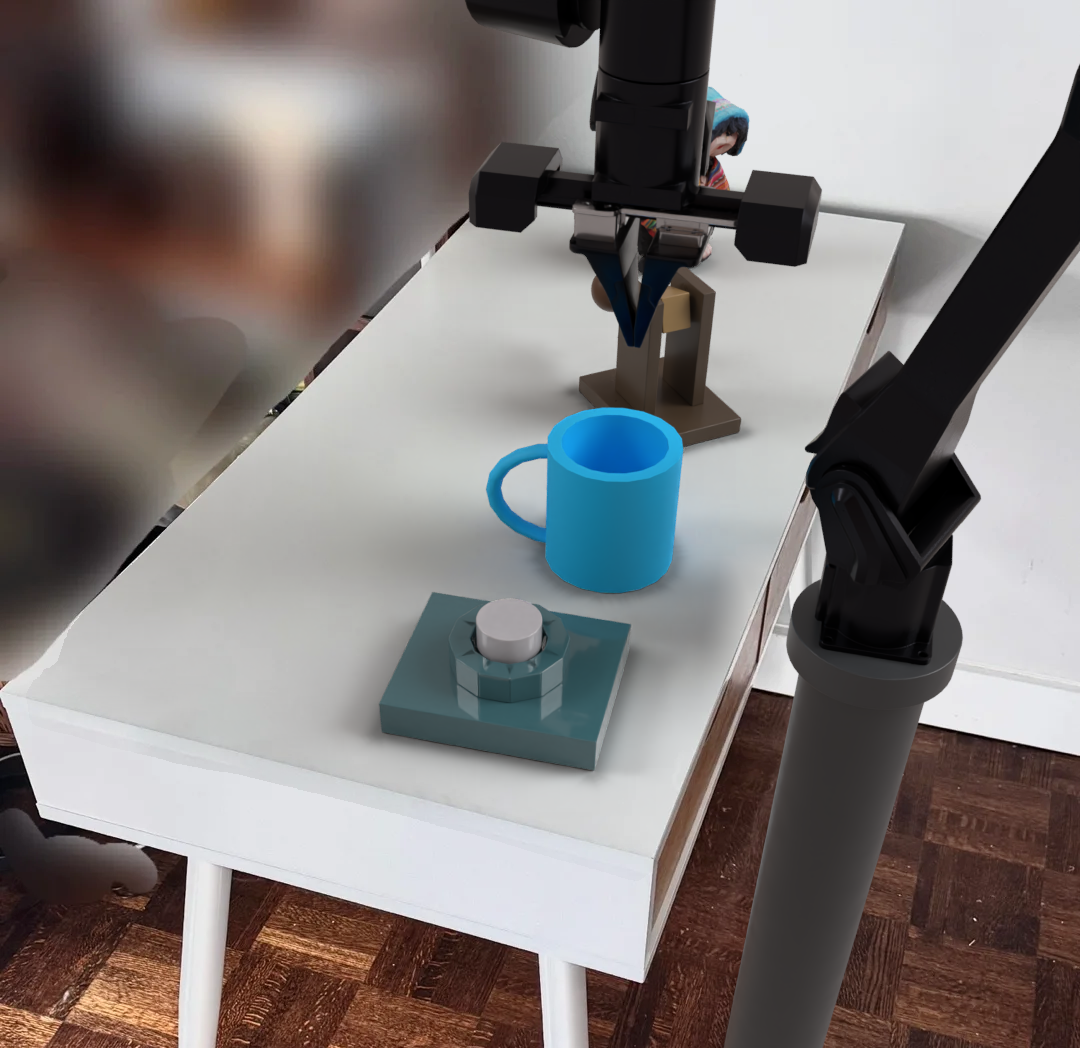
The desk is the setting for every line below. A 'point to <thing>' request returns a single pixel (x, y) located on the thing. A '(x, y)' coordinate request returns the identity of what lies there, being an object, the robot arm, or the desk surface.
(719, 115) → the figurine
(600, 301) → the flush lever
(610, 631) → the block
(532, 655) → the flush button
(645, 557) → the mug
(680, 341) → the lever bracket
